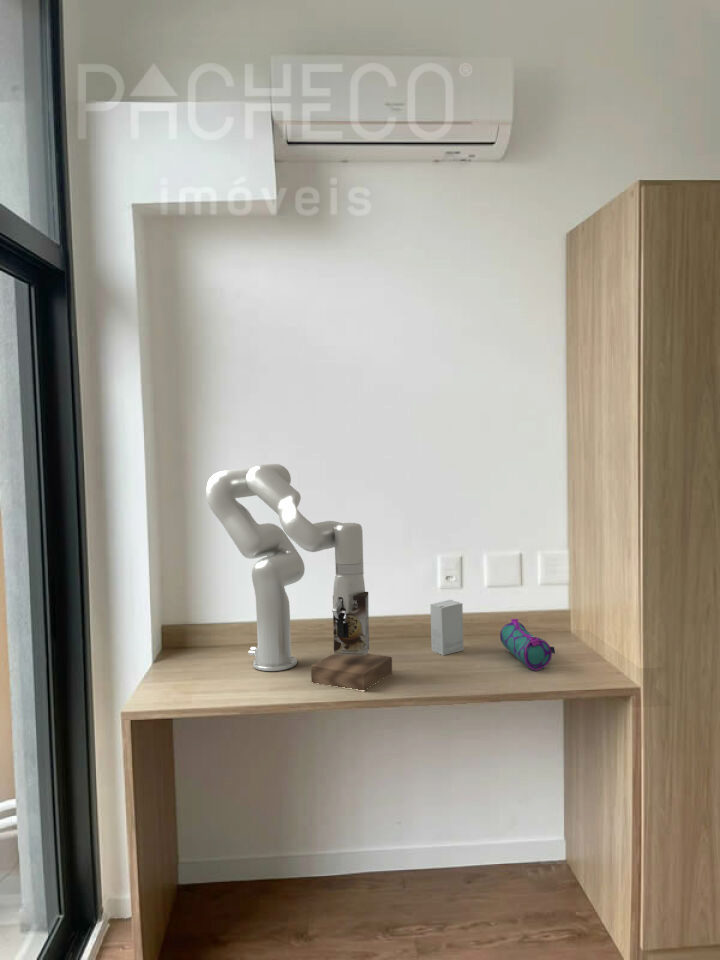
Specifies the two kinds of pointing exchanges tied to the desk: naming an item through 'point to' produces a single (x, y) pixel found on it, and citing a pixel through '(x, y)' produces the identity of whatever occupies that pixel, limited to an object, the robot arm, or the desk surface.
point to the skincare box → (447, 627)
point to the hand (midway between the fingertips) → (351, 632)
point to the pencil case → (526, 646)
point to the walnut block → (351, 670)
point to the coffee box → (354, 629)
